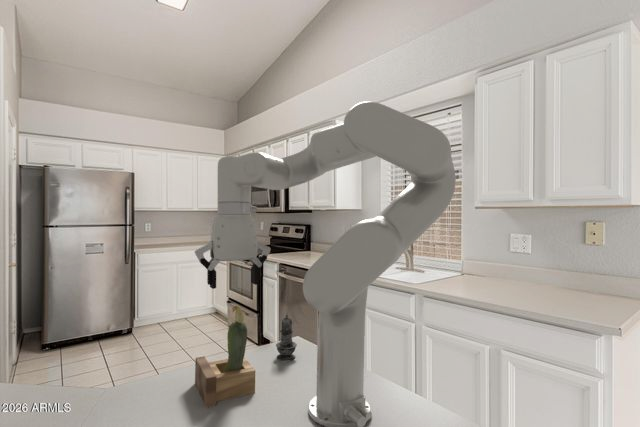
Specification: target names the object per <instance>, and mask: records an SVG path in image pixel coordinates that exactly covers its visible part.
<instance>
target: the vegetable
mask: <svg viewBox="0 0 640 427" xmlns="http://www.w3.org/2000/svg"><path fill="white" fill-rule="evenodd" d="M231 310H232V313H234V312H235V313H234V321H233V322H231V324H230V325H229V327H228V329H227V352H228V357H227V359H228V361H227V366H226V371H225V372H231V371H236V370H241V369H242V364H243V359H244V358H245V353H246V347H247V341H248V327H247V325H246V323H245V322H244V320H245V316H244V314H243V310H242V307H240V306H239V305H234V306H233V307H232V309H231Z"/></svg>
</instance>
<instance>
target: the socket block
mask: <svg viewBox="0 0 640 427" xmlns="http://www.w3.org/2000/svg"><path fill="white" fill-rule="evenodd" d="M227 361H228V358H227V359H221V360H215V361H208V363H209V365H210V366H211V368H212V370H213V371H214V373H215V375H216V403H217V402H221V401H225V400H230V399H234V398H237V397H241V396H247V395H251V394H256V369H255V368H254V367H253V365H251V363H250V362H249V361H248V360H247V358H246V357H244V359H243V364H242V369H241V370H236V371H231V372H225V371H226V366H227Z"/></svg>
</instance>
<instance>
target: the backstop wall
mask: <svg viewBox="0 0 640 427" xmlns="http://www.w3.org/2000/svg"><path fill="white" fill-rule="evenodd" d="M208 362H209V361H208V360H207V358H206V357H205V356H200V357H195V362H194V363H195V367H194V369H195V372H194V373H195V374H194V385H195V387H196V389H197V391H198V394H199V396H200V398H201V401H202V403H203V405H204V407H205V408H210V407H215V406H216V405H217V402H216V375H215V373H214V371H213V370H212V368H211V366H210V365H209V363H208Z"/></svg>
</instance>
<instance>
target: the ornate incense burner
mask: <svg viewBox="0 0 640 427" xmlns="http://www.w3.org/2000/svg"><path fill="white" fill-rule="evenodd" d="M279 332H280V336H281V337H280V341H279V342H277V343H275V347H276V350H277V352H278V353H279V354H278V355H277V356H276V359H277V360H278V361H281V362H290V361H293V360H295V359H296V355H295V354H294V352H295V350H296V348H297V346H298V345H297V343H296V342H294V341H293V333H294V330H293V321H292V319H291V318H289V315H288V314H285V318H284V317H283V319H282V320H281V329H280V331H279Z"/></svg>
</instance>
